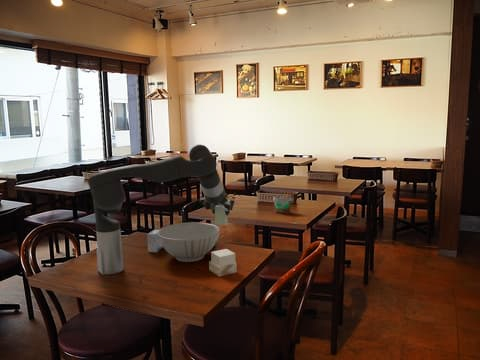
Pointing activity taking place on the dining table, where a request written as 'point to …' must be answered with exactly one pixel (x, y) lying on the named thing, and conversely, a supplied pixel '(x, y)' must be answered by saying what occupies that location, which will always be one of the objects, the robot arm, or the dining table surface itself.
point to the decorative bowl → (188, 240)
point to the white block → (223, 257)
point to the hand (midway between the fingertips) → (221, 213)
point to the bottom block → (222, 269)
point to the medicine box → (153, 241)
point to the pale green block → (220, 216)
